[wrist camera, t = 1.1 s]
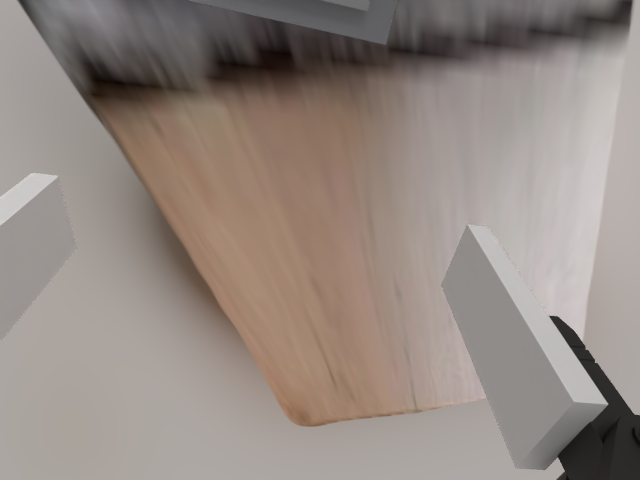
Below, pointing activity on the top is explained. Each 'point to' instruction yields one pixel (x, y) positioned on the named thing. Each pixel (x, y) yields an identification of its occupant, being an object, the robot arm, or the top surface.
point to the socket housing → (323, 14)
